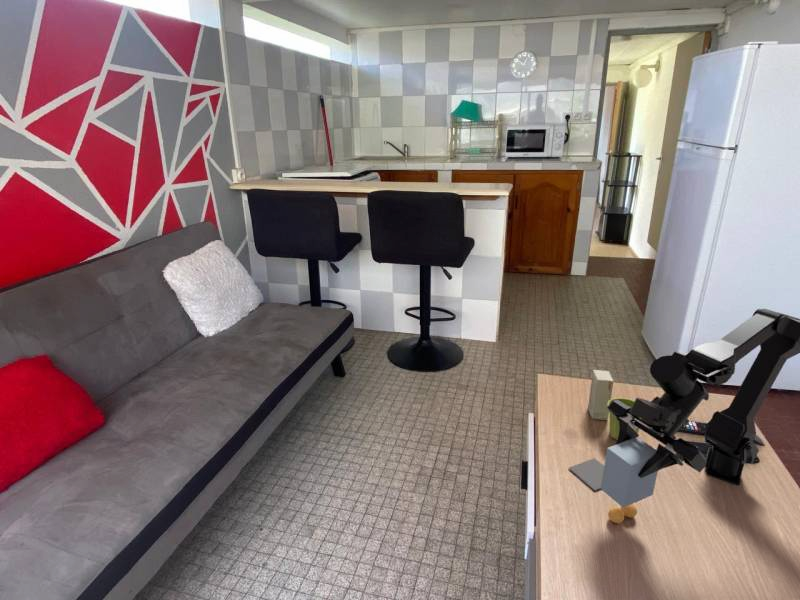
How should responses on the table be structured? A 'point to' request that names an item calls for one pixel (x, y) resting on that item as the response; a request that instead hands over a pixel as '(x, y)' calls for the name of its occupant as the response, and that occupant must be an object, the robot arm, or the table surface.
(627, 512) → the ball
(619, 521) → the ball
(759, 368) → the robot arm
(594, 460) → the pad
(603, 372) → the skincare box
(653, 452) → the grey rectangular block
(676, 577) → the table surface
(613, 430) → the plant pot
